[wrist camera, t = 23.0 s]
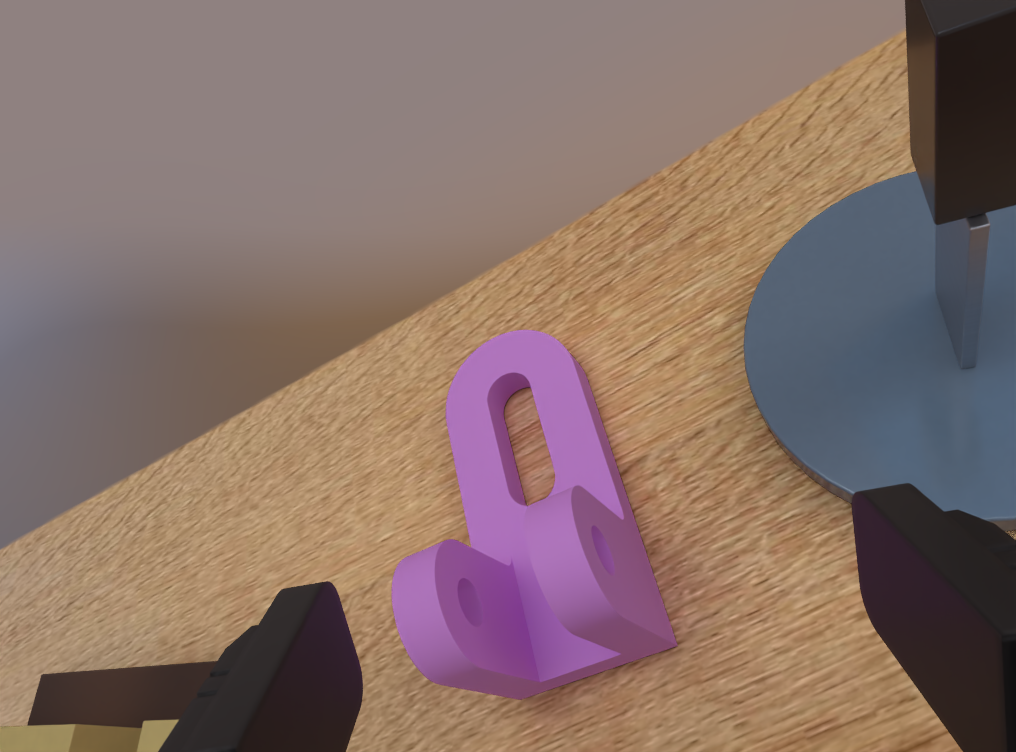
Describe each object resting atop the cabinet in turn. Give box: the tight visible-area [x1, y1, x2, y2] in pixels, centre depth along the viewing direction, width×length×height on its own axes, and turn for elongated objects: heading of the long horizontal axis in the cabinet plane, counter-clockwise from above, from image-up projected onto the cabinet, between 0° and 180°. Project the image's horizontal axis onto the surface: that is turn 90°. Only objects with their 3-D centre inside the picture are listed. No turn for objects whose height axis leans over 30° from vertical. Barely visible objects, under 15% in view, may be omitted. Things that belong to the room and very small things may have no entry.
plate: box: [744, 171, 1016, 531], centre depth 23 cm, size 12×12×1 cm
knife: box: [905, 0, 1016, 369], centre depth 17 cm, size 2×3×12 cm, turn 0°
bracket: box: [392, 330, 678, 700], centre depth 25 cm, size 13×6×7 cm, turn 13°
